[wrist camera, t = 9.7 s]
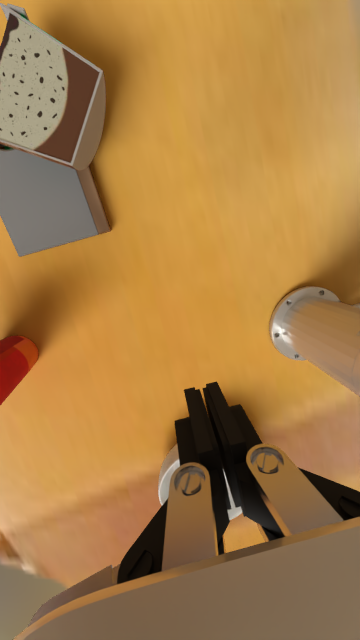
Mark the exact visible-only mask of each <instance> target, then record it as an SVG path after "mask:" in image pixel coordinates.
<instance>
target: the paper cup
mask: <svg viewBox="0 0 360 640" xmlns="http://www.w3.org/2000/svg"><path fill="white" fill-rule="evenodd" d="M37 359H38V349H37V347H36V345H35V344H34V343H33V342H32V341H31V340H30V339H28V338H26V337H23V336H10V337H7V338H5V339H2V340H0V405H1V404H2V403H3V402H4V400H5V399H6V398H7V397H8V396H9V395H10V393H11V392H12V391H13V390H14V389H15V387H16V386H17V385H18V384H19V383H20V382H21V380H22V379H23V378H24V377H25V376H26V374H27V373H28V372H29V371H30V370H31V368H32V367H33V366H34V364H35V363H36V361H37Z"/></svg>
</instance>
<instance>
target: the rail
mask: <svg viewBox="0 0 360 640" xmlns="http://www.w3.org/2000/svg"><path fill="white" fill-rule="evenodd" d="M76 171H77V174H78V177H79V180H80V182H81V185H82V188H83V191H84V194H85V197H86V199H87V202H88V205H89V208H90V211H91V214H92V216H93V219H94V222H95V225H96V228H97V231H98V233H99V234H102V233H106V232H109V231H111V229H110V226H109V223H108V220H107V217H106V214H105V211H104V208H103V205H102V202H101V199H100V196H99V193H98V191H97V188H96V185H95V182H94V179H93V176H92V173H91V170H90V167H89V166H88V167H87V168H85V169H84V170H81V171H78V170H76Z"/></svg>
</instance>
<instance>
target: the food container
mask: <svg viewBox="0 0 360 640" xmlns="http://www.w3.org/2000/svg"><path fill="white" fill-rule="evenodd" d="M0 6H1V8H2V10H3V12H4V13H5V16H6V18H7V21H8V22H7V26H6V30H5V33H4V37H3V40H2V43H1V46H0V151H5V152H7V151H13V150H15V149H17V150H20V151H23V152H26V153H28V154H31V155H34V156H37V157H40V158H43V159H46V160H49V161H52V162H55V163H58V164H60V165H63V166H66V167H69V168H72V169H75V170H78V171H81V170H84V169H85V168H87V167H88V166H89V164H90V163H91V162H92V160H93V158H94V156H95V154H96V152H97V149H98V146H99V143H100V140H101V135H102V131H103V126H104V119H105V109H106V88H105V78H104V73H103V70H101V69H100V68H98V67H97V66H95V65H94V64H92V63H91V62H89V61H88V60H86V59H85V58H83V57H82V56H80V55H79V54H77V53H76V52H74V51H73V50H71V49H70V48H69V47H67V46H66V45H64V44H63V43H61V42H60V41H58V40H57V39H55V38H54V37H52V36H51V35H49V34H48V33H46V32H45V31H43V30H42V29H40V28H39V27H37V26H36V25H34V24H33V23H31V22H30V21H29V19H28V16H27V14H26V12H25V9H24V8H21V7H18V6H14V5H11V4H7V6H6V5H4V4H2V3H0Z"/></svg>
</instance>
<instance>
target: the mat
mask: <svg viewBox="0 0 360 640" xmlns="http://www.w3.org/2000/svg"><path fill="white" fill-rule="evenodd" d="M0 216H1V218H2V220H3V222H4V225H5V227H6V229H7V231H8V233H9V235H10V238H11V240H12V242H13V244H14V246H15V249H16V251H17V253H18V255H19V256H24V255H28V254H31V253H35V252H38V251H42V250H45V249H49V248H52V247H56V246H59V245H63V244H67V243H70V242H74V241H77V240H81V239H84V238H88V237H91V236H95V235H98V234H99V233H98V231H97V228H96V225H95V222H94V219H93V216H92V214H91V211H90V208H89V205H88V202H87V199H86V197H85V194H84V191H83V188H82V185H81V182H80V180H79V177H78V174H77V171H76V170H75V169H72V168H69V167H66V166H63V165H60V164H58V163H55V162H52V161H49V160H46V159H43V158H40V157H37V156H34V155H31V154H28V153H26V152H23V151H20V150H17V149H15V150H13V151H7V152H5V151H0Z"/></svg>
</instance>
